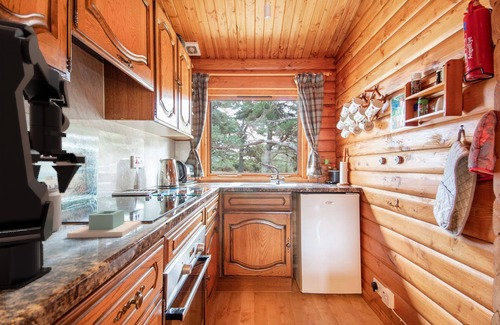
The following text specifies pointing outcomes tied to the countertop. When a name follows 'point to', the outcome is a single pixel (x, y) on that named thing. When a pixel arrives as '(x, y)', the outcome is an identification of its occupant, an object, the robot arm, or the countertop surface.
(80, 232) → the base plate
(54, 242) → the countertop surface
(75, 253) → the countertop surface
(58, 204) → the can
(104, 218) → the block with square hole
